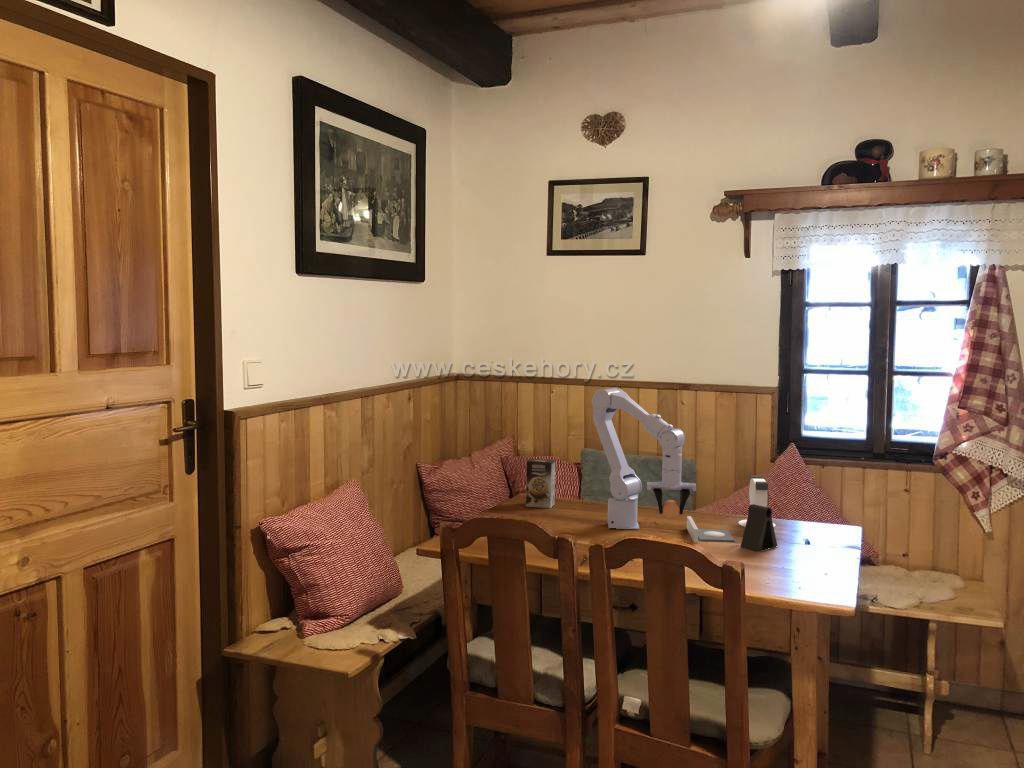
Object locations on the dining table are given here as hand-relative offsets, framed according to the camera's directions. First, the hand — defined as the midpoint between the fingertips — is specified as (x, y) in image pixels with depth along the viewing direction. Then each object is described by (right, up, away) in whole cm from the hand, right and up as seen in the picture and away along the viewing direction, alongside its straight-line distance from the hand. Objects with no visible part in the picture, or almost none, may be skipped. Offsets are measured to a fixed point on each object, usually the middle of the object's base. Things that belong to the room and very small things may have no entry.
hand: (670, 513), depth 253 cm
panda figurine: (+30, -6, +13) cm, 33 cm away
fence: (+7, -7, 0) cm, 9 cm away
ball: (0, +1, 0) cm, 1 cm away
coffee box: (-38, -4, +38) cm, 54 cm away
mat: (+13, -7, 0) cm, 15 cm away
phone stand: (+23, -8, -12) cm, 27 cm away
